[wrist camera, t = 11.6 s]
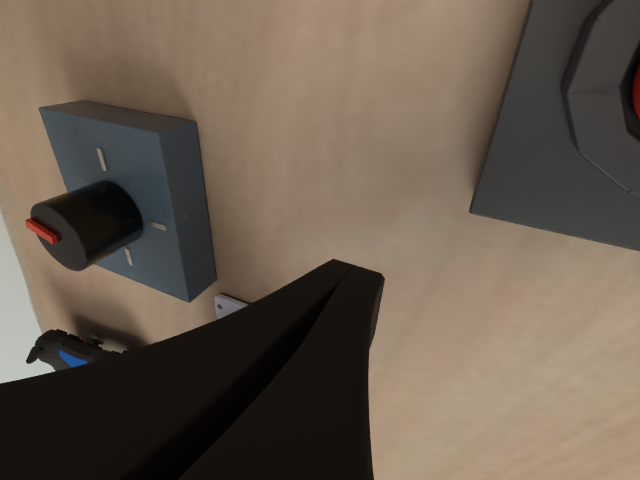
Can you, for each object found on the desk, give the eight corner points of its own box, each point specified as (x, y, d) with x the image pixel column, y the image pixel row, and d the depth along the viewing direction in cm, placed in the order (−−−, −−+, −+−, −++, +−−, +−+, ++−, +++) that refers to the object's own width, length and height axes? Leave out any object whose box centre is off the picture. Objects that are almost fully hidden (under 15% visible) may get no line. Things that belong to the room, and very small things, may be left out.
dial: (142, 199, 22) (76, 230, 19) (143, 251, 25) (84, 286, 21) (90, 168, 23) (17, 192, 20) (95, 222, 26) (32, 251, 22)
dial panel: (217, 280, 28) (188, 304, 25) (123, 246, 31) (89, 264, 29) (196, 121, 21) (155, 133, 19) (82, 100, 25) (34, 107, 22)
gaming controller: (195, 376, 42) (134, 353, 34) (170, 429, 39) (98, 418, 31) (101, 340, 49) (32, 314, 40) (75, 383, 46) (-4, 365, 38)
